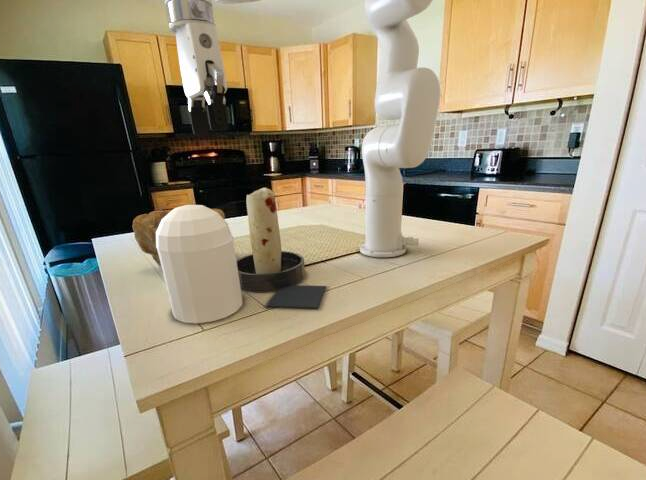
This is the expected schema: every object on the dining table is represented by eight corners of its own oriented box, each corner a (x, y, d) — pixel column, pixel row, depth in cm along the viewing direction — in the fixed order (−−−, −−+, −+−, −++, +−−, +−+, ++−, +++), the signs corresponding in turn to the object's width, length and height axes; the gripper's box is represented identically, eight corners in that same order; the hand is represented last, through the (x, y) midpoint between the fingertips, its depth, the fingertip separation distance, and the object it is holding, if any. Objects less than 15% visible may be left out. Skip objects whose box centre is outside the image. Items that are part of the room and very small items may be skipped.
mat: (325, 287, 72) (325, 285, 72) (317, 309, 63) (317, 307, 63) (280, 286, 74) (280, 285, 73) (266, 307, 65) (266, 305, 64)
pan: (310, 266, 85) (309, 251, 83) (295, 293, 70) (294, 275, 68) (249, 265, 88) (247, 250, 86) (222, 291, 73) (219, 274, 72)
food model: (287, 281, 75) (279, 190, 67) (257, 286, 74) (245, 193, 66) (280, 267, 84) (272, 185, 76) (254, 271, 82) (243, 187, 75)
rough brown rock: (139, 291, 78) (123, 228, 71) (143, 264, 92) (130, 210, 85) (239, 275, 86) (233, 218, 79) (229, 253, 99) (223, 202, 93)
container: (173, 330, 58) (144, 215, 51) (171, 300, 70) (148, 203, 62) (249, 312, 63) (233, 205, 55) (236, 287, 74) (221, 196, 67)
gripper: (233, 6, 51) (248, 128, 58) (197, 37, 65) (213, 134, 71) (183, -2, 48) (206, 130, 54) (156, 33, 61) (177, 135, 67)
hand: (210, 132), depth 63 cm, fingers open, 9 cm apart
